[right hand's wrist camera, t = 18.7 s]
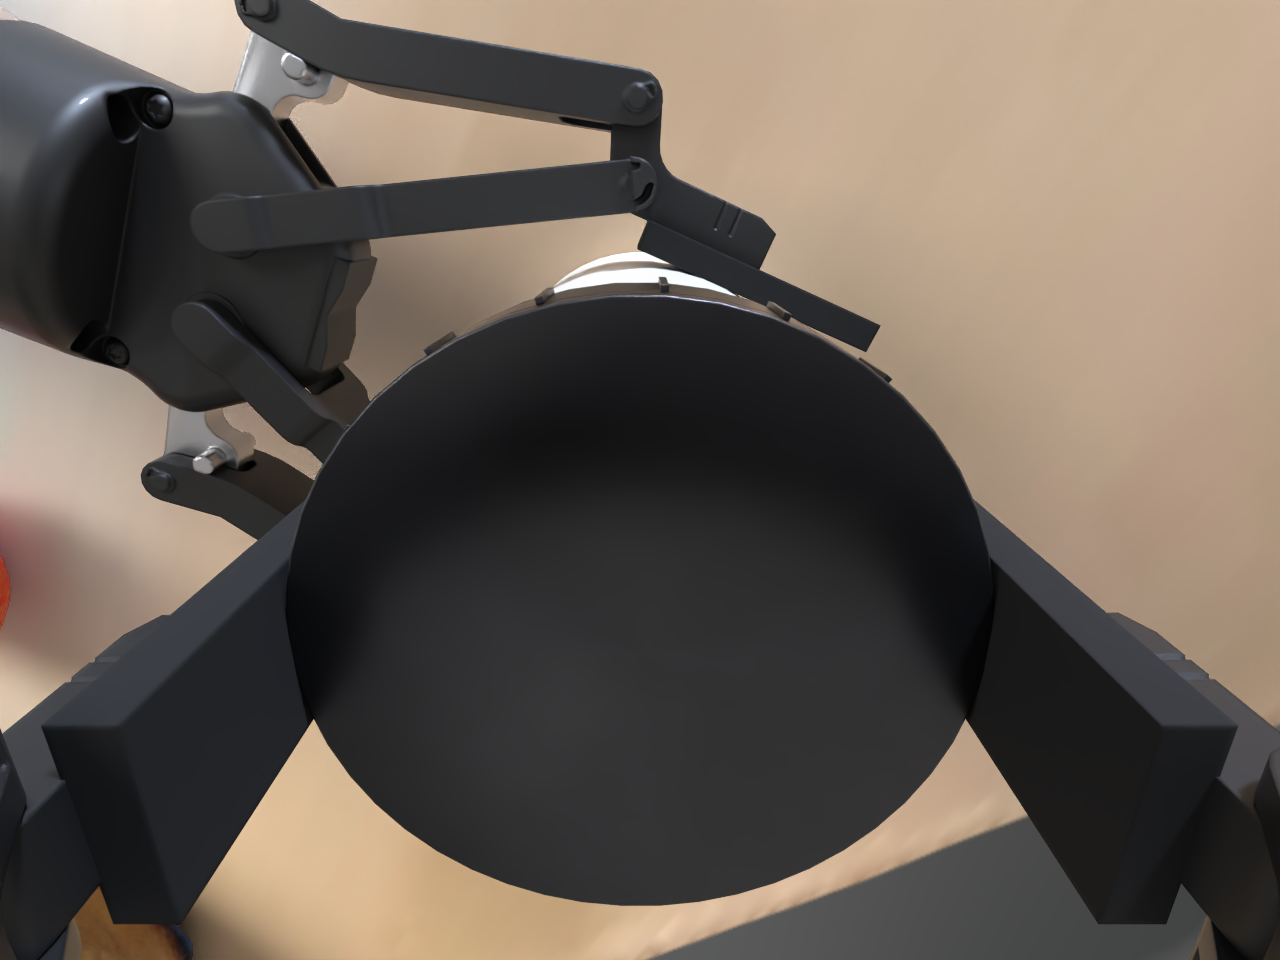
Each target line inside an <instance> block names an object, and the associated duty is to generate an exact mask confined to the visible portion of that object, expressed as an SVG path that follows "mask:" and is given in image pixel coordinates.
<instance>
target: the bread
mask: <svg viewBox="0 0 1280 960" xmlns="http://www.w3.org/2000/svg"><path fill="white" fill-rule="evenodd" d="M74 919H75V921H76V924H77V927H78V929H79V932H80V938H81V944H82V951H81V958H80V960H191V959H192V956H193V944H192V943H191V941H190V940H189V938H188V937H187V935H186V934H185V933H184V932H183V931H182V930H181V929H180V928H179V927H178V926H177V925H176V924H113V922H112V919H111V917H110V914H109V911H108V908H107V906H106V903H105V900H104V897H103V895H102V892H101V889H100V887H98V888H97V889H96V890H95V892H94V893H93V894H92V895H91V897H90V898H89V899H88V900H87V902H86V903H85V904H84V905H83V907H82V908H81V909H80V910H79V912H78V913H77V914H76V915H75V917H74Z"/></svg>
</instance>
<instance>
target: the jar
mask: <svg viewBox="0 0 1280 960" xmlns="http://www.w3.org/2000/svg"><path fill="white" fill-rule="evenodd" d="M659 277H666V278H667V281H668V283H670V284H677V285H685V286H692V287H700V288H707V289H711V290H715V291H719V292H722V293H726V294H729V295H733V296H737V297H739V296H738V295H737V294H736V293H734V292H731V291H729V290H727V289H725V288H722V287H720V286H718V285H716V284H714V283H711V282H709V281H707V280H705V279H702V278H700V277H698V276H696V275H694V274H691V273H689V272H687V271H685V270H683V269H680V268H678V267H676V266H674V265H671V264H669V263H667V262H665V261H663V260H660V259H658V258H656V257H654V256H651V255H649V254H647V253H645V252H631V253H623V254H615V255H611V256H608V257H604V258H600V259H597V260H595V261H592V262H590V263H588V264H585V265H583V266H581V267H579V268H578V269H576V270H574V271H573V272H571V273H569V274H568V275H566V276H565V277H564V278H563V279H561V280H560V281H559V282H558V283H556V284H555V285H554V286H553V288H554V292H555V293H557V292H561V291H564V290H568V289H573V288H580V287H588V286H595V285H602V284H609V283H656V282H658V280H659Z"/></svg>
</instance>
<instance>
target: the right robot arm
mask: <svg viewBox="0 0 1280 960" xmlns="http://www.w3.org/2000/svg"><path fill="white" fill-rule="evenodd" d="M973 500H974V499H973ZM305 501H306V500H305ZM305 501H303V502H302V503H301V504H300V505H299V506H298V507H296V508H295V509H294V510H293V511H292V512H291V513H289V514H288V515H287V516H286V517H285V518H284V519H282V520H281V521H280V522H279V523H278V524H277V525H275V526H274V527H273V528H272V529H271V530H269V531H268V532H267V533H266V534H265V535H264V536H262V537H261V538H260V539H259V540H258V541H257V542H255V543H254V544H253V545H252V546H251V547H250V548H248V549H247V550H246V551H245V552H244V553H243V554H241V555H240V556H239V557H238V558H237V559H236V560H234V561H233V562H232V563H231V564H230V565H229V566H227V567H226V568H225V569H224V570H223V571H221V572H220V573H219V574H218V575H217V576H216V577H214V578H213V579H212V580H211V581H210V582H209V583H207V584H206V585H205V586H204V587H203V588H202V589H200V590H199V591H198V592H197V593H196V594H195V595H193V596H192V597H191V598H190V599H189V600H188V601H186V602H185V603H184V604H183V605H182V606H181V607H179V608H178V609H177V610H176V611H175V612H173V613H172V614H171V615H161V616H160V617H158V618H156V619H154V620H152V621H150V622H148V623H146V624H144V625H142V626H140V627H138V628H136V629H134V630H132V631H130V632H128V633H126V634H125V635H123V636H122V637H121V638H119V639H118V640H117V641H116V642H114V643H113V644H112V645H111V646H109V647H108V648H107V649H106V650H105V651H103V652H102V653H101V654H100V655H98V656H97V657H96V658H95V662H94V663H89V664H87V665H86V666H85V667H84V668H82V669H81V670H80V671H79V672H78V673H76V674H75V675H74V676H73V677H72V680H71V682H65V683H64V684H63V685H62V686H60V687H59V688H58V689H57V690H55V691H54V692H53V693H52V694H51V695H49V696H48V697H47V698H46V699H44V700H43V701H42V702H41V703H40V704H38V705H37V706H36V707H35V708H33V709H32V710H31V711H30V712H29V713H27V714H26V715H25V716H24V717H22V718H21V719H20V720H19V721H17V722H16V723H15V724H14V725H13V726H11V727H10V728H9V729H8V730H6V731H5V732H4V733H3V734H2V732H1V730H0V960H80V958H81V951H82V944H81V938H80V932H79V929H78V927H77V924H76V921H75V919H74V917H75V915H76V914H77V913H78V912H79V910H80V909H81V908H82V907H83V905H84V904H85V903H86V902H87V900H88V899H89V898H90V897H91V895H92V894H93V893H94V892H95V890H96V889H97V888H98V887H100V889H101V892H102V895H103V897H104V900H105V903H106V906H107V908H108V911H109V914H110V917H111V919H112V922H113V924H182V922H183V920H184V919H185V917H186V916H187V914H188V913H189V911H190V910H191V908H192V907H193V905H194V903H195V902H196V900H197V899H198V897H199V896H200V894H201V893H202V891H203V889H204V888H205V886H206V885H207V883H208V882H209V880H210V879H211V877H212V876H213V874H214V872H215V871H216V869H217V868H218V866H219V865H220V863H221V862H222V860H223V859H224V857H225V855H226V854H227V852H228V851H229V849H230V848H231V846H232V845H233V843H234V841H235V840H236V838H237V837H238V835H239V834H240V832H241V831H242V829H243V828H244V826H245V824H246V823H247V821H248V820H249V818H250V817H251V815H252V814H253V812H254V811H255V809H256V807H257V806H258V804H259V803H260V801H261V800H262V798H263V797H264V795H265V793H266V792H267V790H268V789H269V787H270V786H271V784H272V783H273V781H274V780H275V778H276V776H277V775H278V773H279V772H280V770H281V769H282V767H283V766H284V764H285V763H286V761H287V759H288V758H289V756H290V755H291V753H292V752H293V750H294V749H295V747H296V745H297V744H298V742H299V741H300V739H301V738H302V736H303V735H304V733H305V732H306V730H307V728H308V727H309V725H310V724H311V722H312V721H313V719H314V718H313V716H312V714H311V712H310V710H309V708H308V705H307V702H306V699H305V697H304V694H303V691H302V688H301V686H300V683H299V680H298V677H297V674H296V669H295V664H294V659H293V654H292V650H291V645H290V640H289V635H288V624H287V606H286V588H287V579H288V569H289V559H290V551H291V547H292V543H293V540H294V536H295V532H296V528H297V524H298V521H299V517H300V513H301V510H302V508H303V505H304V503H305ZM974 502H975V504H976V506H977V509H978V512H979V516H980V519H981V523H982V527H983V530H984V534H985V538H986V541H987V545H988V549H989V556H990V565H991V574H992V583H993V613H992V631H991V637H990V642H989V647H988V652H987V656H986V661H985V666H984V671H983V676H982V678H981V681H980V684H979V687H978V690H977V692H976V695H975V698H974V701H973V704H972V706H971V709H970V711H969V713H968V715H967V717H966V720H967V721H968V723H969V725H970V726H971V728H972V729H973V731H974V732H975V734H976V735H977V737H978V738H979V740H980V742H981V743H982V745H983V746H984V748H985V749H986V751H987V752H988V754H989V756H990V757H991V759H992V760H993V762H994V763H995V765H996V766H997V768H998V769H999V771H1000V773H1001V774H1002V776H1003V777H1004V779H1005V780H1006V782H1007V783H1008V785H1009V786H1010V788H1011V790H1012V791H1013V793H1014V794H1015V796H1016V797H1017V799H1018V800H1019V802H1020V804H1021V805H1022V807H1023V808H1024V810H1025V811H1026V813H1027V814H1028V816H1029V817H1030V819H1031V821H1032V822H1033V824H1034V825H1035V827H1036V828H1037V830H1038V831H1039V833H1040V834H1041V836H1042V838H1043V839H1044V841H1045V842H1046V844H1047V845H1048V847H1049V848H1050V850H1051V851H1052V853H1053V855H1054V856H1055V858H1056V859H1057V861H1058V862H1059V864H1060V865H1061V867H1062V869H1063V870H1064V872H1065V873H1066V875H1067V876H1068V878H1069V879H1070V881H1071V882H1072V884H1073V886H1074V887H1075V889H1076V890H1077V892H1078V893H1079V895H1080V896H1081V898H1082V900H1083V901H1084V903H1085V904H1086V906H1087V907H1088V909H1089V910H1090V912H1091V913H1092V915H1093V916H1094V918H1095V920H1096V921H1097V923H1098V924H1166V923H1167V920H1168V918H1169V915H1170V912H1171V909H1172V907H1173V904H1174V901H1175V898H1176V896H1177V893H1178V890H1179V888H1180V885H1181V883H1182V884H1183V886H1184V887H1185V888H1186V890H1187V891H1188V892H1189V893H1190V894H1191V896H1192V897H1193V898H1194V899H1195V901H1196V902H1197V903H1198V904H1199V906H1200V907H1201V908H1202V909H1203V911H1204V912H1205V913H1206V914H1207V916H1206V919H1205V921H1204V924H1203V927H1202V929H1201V932H1200V934H1199V937H1198V939H1197V942H1196V944H1195V947H1194V950H1193V952H1192V955H1191V957H1190V960H1280V732H1279V731H1278V730H1277V729H1275V728H1274V727H1273V726H1272V725H1270V724H1269V723H1268V722H1267V721H1265V720H1264V719H1263V718H1262V717H1261V716H1259V715H1258V714H1257V713H1256V712H1254V711H1253V710H1252V709H1251V708H1249V707H1248V706H1247V705H1246V704H1244V703H1243V702H1242V701H1241V700H1240V699H1238V698H1237V697H1236V696H1235V695H1233V694H1232V693H1231V692H1230V691H1228V690H1227V689H1226V688H1225V687H1223V686H1222V685H1221V684H1220V683H1219V682H1217V681H1216V680H1210V679H1209V674H1207V673H1206V672H1205V671H1204V670H1202V669H1201V668H1200V667H1199V666H1198V665H1196V664H1195V663H1194V662H1193V661H1191V660H1186V659H1185V655H1184V654H1183V653H1181V652H1180V651H1179V650H1178V649H1176V648H1175V647H1174V646H1173V645H1172V644H1170V643H1169V642H1168V641H1167V640H1165V639H1164V638H1163V637H1162V636H1160V635H1159V634H1158V633H1157V632H1155V631H1153V630H1151V629H1149V628H1147V627H1145V626H1143V625H1141V624H1139V623H1137V622H1135V621H1133V620H1131V619H1129V618H1127V617H1125V616H1124V615H1122V614H1120V613H1106V612H1105V611H1104V610H1102V609H1101V608H1100V607H1099V606H1098V605H1097V604H1095V603H1094V602H1093V601H1092V600H1091V599H1090V598H1088V597H1087V596H1086V595H1085V594H1084V593H1083V592H1081V591H1080V590H1079V589H1078V588H1077V587H1076V586H1074V585H1073V584H1072V583H1071V582H1070V581H1069V580H1067V579H1066V578H1065V577H1064V576H1063V575H1062V574H1060V573H1059V572H1058V571H1057V570H1056V569H1054V568H1053V567H1052V566H1051V565H1050V564H1049V563H1047V562H1046V561H1045V560H1044V559H1043V558H1042V557H1040V556H1039V555H1038V554H1037V553H1036V552H1035V551H1033V550H1032V549H1031V548H1030V547H1029V546H1028V545H1026V544H1025V543H1024V542H1023V541H1022V540H1021V539H1019V538H1018V537H1017V536H1016V535H1015V534H1014V533H1012V532H1011V531H1010V530H1009V529H1008V528H1006V527H1005V526H1004V525H1003V524H1002V523H1001V522H999V521H998V520H997V519H996V518H995V517H994V516H992V515H991V514H990V513H989V512H988V511H987V510H985V509H984V508H983V507H982V506H981V505H980V504H978V503H977V502H976V501H975V500H974Z"/></svg>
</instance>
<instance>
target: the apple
mask: <svg viewBox="0 0 1280 960" xmlns="http://www.w3.org/2000/svg"><path fill="white" fill-rule="evenodd" d="M9 600H10V581H9V577H8V573H7V570H6V567H5V564H4V562H3V559H2V557H1V555H0V629H1V627H2V625H3V622H4V619H5V616H6V612H7V609H8V605H9Z"/></svg>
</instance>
